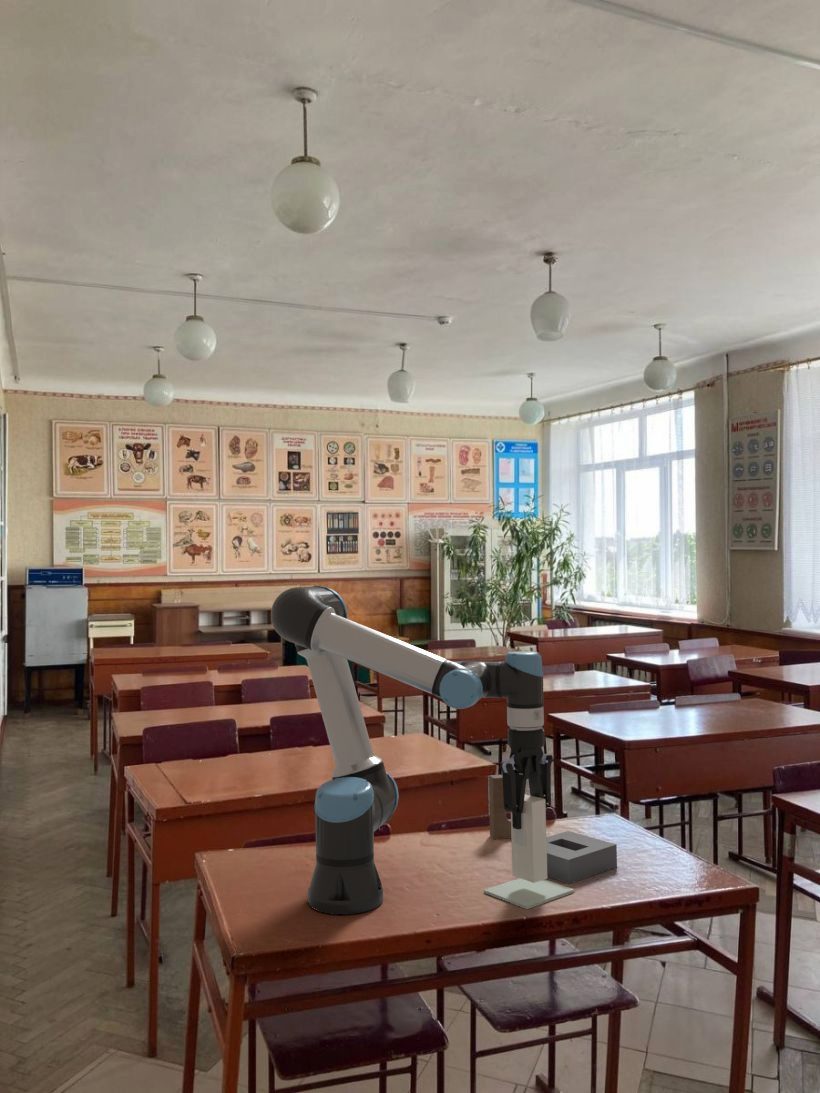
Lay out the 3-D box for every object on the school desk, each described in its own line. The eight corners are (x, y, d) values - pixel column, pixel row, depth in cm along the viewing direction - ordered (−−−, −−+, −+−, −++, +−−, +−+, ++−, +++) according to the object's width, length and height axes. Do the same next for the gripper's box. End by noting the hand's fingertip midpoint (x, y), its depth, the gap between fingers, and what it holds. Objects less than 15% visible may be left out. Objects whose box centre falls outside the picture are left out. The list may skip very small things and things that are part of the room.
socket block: (569, 883, 188) (568, 859, 189) (520, 867, 199) (520, 844, 199) (617, 867, 199) (616, 844, 199) (568, 852, 209) (568, 830, 210)
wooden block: (494, 839, 220) (493, 778, 221) (489, 836, 224) (488, 775, 224) (519, 837, 222) (518, 776, 223) (514, 833, 225) (512, 773, 226)
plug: (533, 882, 180) (531, 802, 181) (512, 875, 185) (510, 797, 185) (547, 878, 183) (545, 799, 183) (525, 871, 187) (523, 793, 188)
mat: (526, 909, 175) (526, 906, 175) (483, 892, 184) (483, 889, 184) (574, 892, 183) (574, 889, 183) (531, 877, 193) (531, 874, 193)
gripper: (509, 734, 176) (512, 855, 176) (567, 724, 187) (570, 837, 186) (483, 730, 182) (485, 846, 182) (540, 720, 193) (543, 830, 192)
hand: (528, 841), depth 184 cm, fingers closed on plug, 4 cm apart
